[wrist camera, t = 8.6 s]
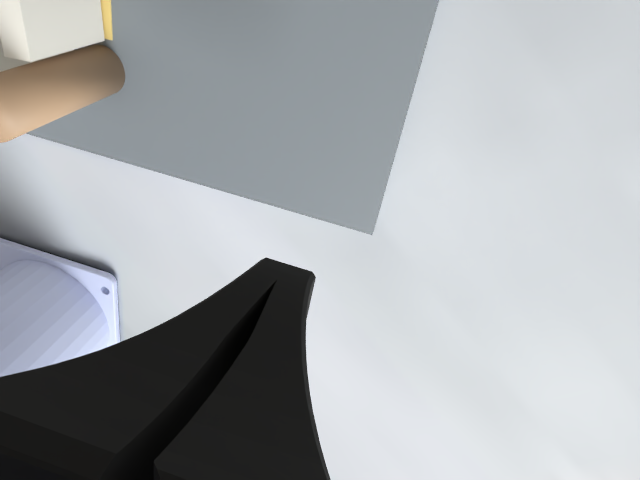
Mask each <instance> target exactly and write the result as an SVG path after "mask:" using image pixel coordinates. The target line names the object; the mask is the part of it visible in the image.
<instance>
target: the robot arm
mask: <svg viewBox="0 0 640 480" xmlns="http://www.w3.org/2000/svg"><path fill="white" fill-rule="evenodd" d="M315 278H316V277H315V275H314V274H313V272H311V271H308V270H305V269H301V268H298V267H295V266H292V265H288V264H285V263H282V262H278V261H275V260H272V259H269V258H264V259H262V260H261V261H259V262H258V263H257V264H255V265H254V266H253V267H251V268H250V269H249V270H247V271H246V272H245V273H243V274H242V275H241V276H239V277H238V278H236V279H235V280H234V281H232V282H231V283H229V284H228V285H226V286H225V287H223V288H222V289H220V290H219V291H217V292H216V293H214V294H213V295H211V296H210V297H208V298H207V299H205V300H203V301H202V302H200V303H198V304H197V305H195V306H193V307H192V308H190V309H188V310H186V311H185V312H183V313H181V314H180V315H178V316H176V317H174V318H172V319H170V320H168V321H166V322H164V323H162V324H160V325H158V326H156V327H154V328H152V329H150V330H148V331H146V332H144V333H141V334H139V335H137V336H134V337H132V338H129V339H127V340H124V341H122V342H120V331H119V313H118V294H117V281H116V279H115V277H114V276H113V275H112V274H110V273H108V272H105V271H101V270H98V269H95V268H92V267H89V266H86V265H83V264H80V263H77V262H74V261H70V260H67V259H64V258H61V257H58V256H55V255H52V254H49V253H46V252H42V251H39V250H36V249H33V248H30V247H27V246H24V245H21V244H18V243H15V242H11V241H8V240H5V239H2V238H0V480H330V477H329V474H328V470H327V467H326V464H325V460H324V457H323V453H322V449H321V446H320V442H319V437H318V433H317V428H316V424H315V419H314V415H313V410H312V404H311V397H310V391H309V383H308V374H307V362H306V318H307V314H308V309H309V305H310V300H311V296H312V291H313V287H314V282H315Z"/></svg>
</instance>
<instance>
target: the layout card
mask: <svg viewBox="0 0 640 480" xmlns="http://www.w3.org/2000/svg"><path fill="white" fill-rule="evenodd" d="M100 2H101V11H102V20H103V29H104V39H105V41H102V42H98V43H95V44H100V45H103V46H106V47H108V48H110V49H111V50H112V51H113V52H114V53H115V54H116V55H117V56H118V57H119V59H120V60H121V62H122V64H123V67H124V70H125V82H124V85H123V87H122V89H121V90H120V91H118V92H117V93H115V94H112V95H110V96H108V97H106V98H103V99H101V100H99V101H97V102H95V103H92V104H90V105H88V106H86V107H83V108H81V109H79V110H77V111H74V112H72V113H70V114H68V115H65V116H63V117H61V118H59V119H56V120H54V121H52V122H50V123H47V124H45V125H43V126H41V127H39V128H36V129H34V130H32V131H30V132H27V133H26V134H30V135H33V136H36V137H40V138H43V139H47V140H50V141H53V142H57V143H60V144H64V145H67V146H70V147H74V148H77V149H81V150H84V151H88V152H91V153H94V154H98V155H101V156H105V157H108V158H111V159H115V160H118V161H122V162H125V163H128V164H132V165H135V166H139V167H142V168H145V169H149V170H152V171H156V172H159V173H162V174H166V175H169V176H173V177H176V178H180V179H183V180H186V181H190V182H193V183H197V184H200V185H203V186H207V187H210V188H214V189H217V190H220V191H224V192H227V193H231V194H234V195H237V196H241V197H244V198H248V199H251V200H255V201H258V202H261V203H265V204H268V205H272V206H275V207H278V208H282V209H285V210H289V211H292V212H295V213H299V214H302V215H306V216H309V217H312V218H316V219H319V220H323V221H326V222H330V223H333V224H336V225H340V226H343V227H347V228H350V229H353V230H357V231H360V232H364V233H367V234H370V235H372V234H373V231H374V227H375V224H376V220H377V217H378V213H379V210H380V206H381V203H382V199H383V196H384V192H385V189H386V185H387V182H388V178H389V175H390V171H391V167H392V164H393V160H394V157H395V153H396V150H397V146H398V143H399V139H400V136H401V132H402V129H403V125H404V122H405V118H406V115H407V111H408V108H409V104H410V100H411V97H412V93H413V90H414V86H415V83H416V79H417V76H418V72H419V69H420V65H421V62H422V58H423V55H424V51H425V48H426V44H427V41H428V37H429V33H430V30H431V26H432V23H433V19H434V16H435V12H436V9H437V5H438V2H439V0H100ZM92 45H94V44H92ZM88 46H90V45H88ZM85 47H87V46H85ZM81 48H84V47H81ZM78 49H80V48H78ZM74 50H77V49H74Z"/></svg>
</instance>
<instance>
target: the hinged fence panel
mask: <svg viewBox="0 0 640 480" xmlns="http://www.w3.org/2000/svg"><path fill="white" fill-rule="evenodd" d="M0 38H1V43H2V48H3V52H4V57H8V58H13V59H18V60H23V61H28V62H33V61H37V60H40V59H44V58H47V57H50V56H54V55H57V54H61V53H64V52H68V51H71V50H74V49H78V48H81V47H85V46H88V45H92V44H95V43H98V42H102V41H105V39H104V29H103V20H102V11H101V2H100V0H0Z"/></svg>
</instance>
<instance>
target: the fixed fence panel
mask: <svg viewBox="0 0 640 480" xmlns="http://www.w3.org/2000/svg"><path fill="white" fill-rule="evenodd" d="M124 82H125V70H124V67H123V64H122V62H121V60H120V59H119V57H118V56H117V55H116V54H115V53H114V52H113V51H112V50H111V49H110V48H108V47H106V46H103V45H100V44H94V45H90V46H87V47H84V48H80V49H77V50H71V51H68V52H64V53H61V54H57V55H54V56H50V57H47V58H44V59H40V60H37V61H33V62H28V61H23V60H18V59H13V58H8V57H4V52H3V48H2V43H1V38H0V143H2V142H7V141H9V140H12V139H14V138H16V137H18V136H21V135H23V134H25V133H27V132H30V131H32V130H34V129H36V128H39V127H41V126H43V125H45V124H47V123H50V122H52V121H54V120H56V119H59V118H61V117H63V116H65V115H68V114H70V113H72V112H74V111H77V110H79V109H81V108H83V107H86V106H88V105H90V104H92V103H95V102H97V101H99V100H101V99H103V98H106V97H108V96H110V95H112V94H115V93H117V92H118V91H120V90H121V89H122V87H123V85H124Z"/></svg>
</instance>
